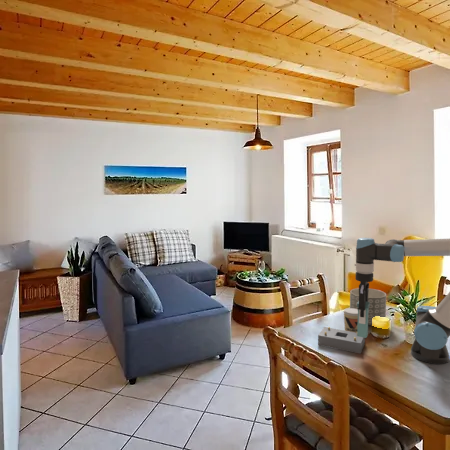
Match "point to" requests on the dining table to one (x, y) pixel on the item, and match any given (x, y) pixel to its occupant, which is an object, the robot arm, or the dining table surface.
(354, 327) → the coffee cup
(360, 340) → the block
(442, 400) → the dining table surface
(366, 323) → the plug
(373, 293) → the planter
